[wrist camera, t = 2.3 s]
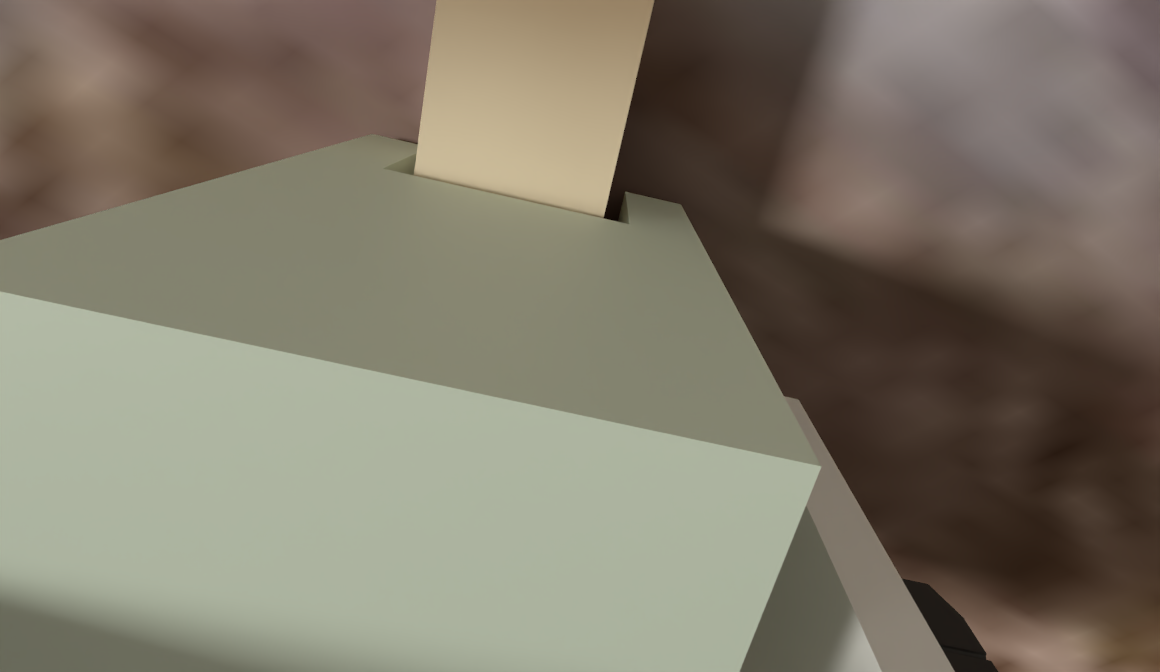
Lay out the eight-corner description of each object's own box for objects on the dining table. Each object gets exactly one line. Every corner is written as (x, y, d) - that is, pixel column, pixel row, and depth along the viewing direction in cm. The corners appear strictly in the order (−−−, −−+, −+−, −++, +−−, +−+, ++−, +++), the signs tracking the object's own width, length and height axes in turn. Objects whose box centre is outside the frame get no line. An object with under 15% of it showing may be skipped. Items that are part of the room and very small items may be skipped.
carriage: (598, 503, 16) (589, 1045, 7) (338, 449, 16) (-8, 943, 7) (680, 204, 14) (821, 465, 5) (372, 133, 13) (-102, 270, 4)
